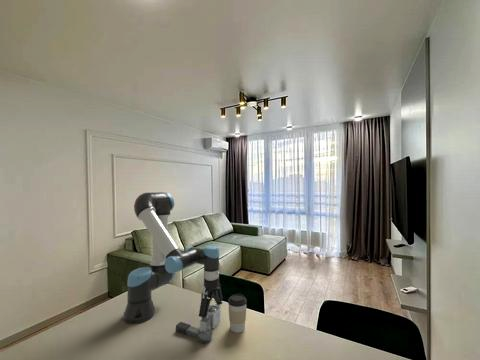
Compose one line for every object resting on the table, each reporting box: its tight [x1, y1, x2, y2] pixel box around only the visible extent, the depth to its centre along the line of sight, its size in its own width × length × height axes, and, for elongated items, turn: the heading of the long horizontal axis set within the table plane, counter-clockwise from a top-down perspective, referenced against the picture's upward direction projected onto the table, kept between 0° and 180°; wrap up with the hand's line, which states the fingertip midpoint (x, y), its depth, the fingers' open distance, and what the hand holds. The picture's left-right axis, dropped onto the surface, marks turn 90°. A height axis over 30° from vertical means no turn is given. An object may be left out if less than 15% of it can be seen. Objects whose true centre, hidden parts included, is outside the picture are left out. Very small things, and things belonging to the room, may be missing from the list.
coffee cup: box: [227, 292, 248, 334], centre depth 109 cm, size 9×9×15 cm
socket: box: [207, 304, 221, 330], centre depth 112 cm, size 6×6×8 cm
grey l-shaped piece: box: [175, 317, 213, 345], centre depth 103 cm, size 18×6×8 cm, turn 64°
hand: (211, 323), depth 112 cm, fingers open, 10 cm apart
